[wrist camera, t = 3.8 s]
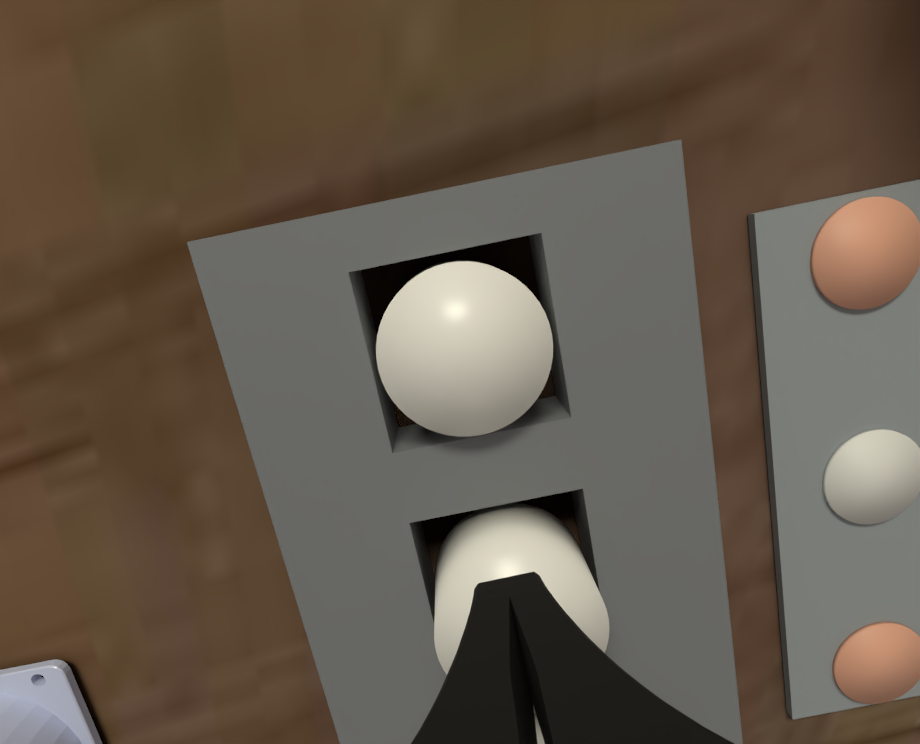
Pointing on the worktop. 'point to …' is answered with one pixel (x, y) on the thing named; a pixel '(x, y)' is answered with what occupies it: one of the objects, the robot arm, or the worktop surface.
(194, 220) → the worktop surface
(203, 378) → the worktop surface
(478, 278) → the button front
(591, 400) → the button board
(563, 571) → the button middle
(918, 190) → the pattern card
